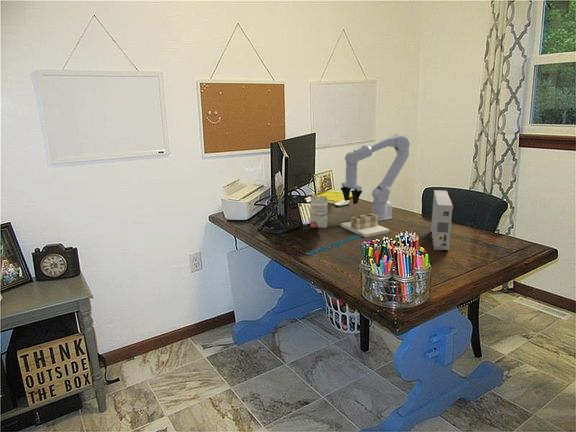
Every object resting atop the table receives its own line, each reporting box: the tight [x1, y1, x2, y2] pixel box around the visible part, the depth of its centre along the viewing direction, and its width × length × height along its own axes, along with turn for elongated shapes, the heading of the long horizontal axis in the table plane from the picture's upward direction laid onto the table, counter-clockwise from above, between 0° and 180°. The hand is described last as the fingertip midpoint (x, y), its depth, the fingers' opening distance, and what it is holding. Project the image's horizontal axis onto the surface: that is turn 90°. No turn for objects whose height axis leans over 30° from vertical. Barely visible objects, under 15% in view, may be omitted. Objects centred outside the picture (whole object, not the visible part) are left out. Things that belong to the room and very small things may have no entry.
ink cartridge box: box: [309, 196, 328, 229], centre depth 207 cm, size 9×5×15 cm, turn 84°
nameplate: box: [304, 234, 363, 256], centre depth 183 cm, size 37×1×5 cm
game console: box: [430, 189, 454, 251], centre depth 180 cm, size 6×27×20 cm, turn 164°
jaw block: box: [350, 212, 379, 230], centre depth 201 cm, size 5×12×5 cm, turn 117°
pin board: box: [340, 221, 391, 238], centre depth 202 cm, size 14×20×5 cm
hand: (351, 202), depth 216 cm, fingers open, 7 cm apart
